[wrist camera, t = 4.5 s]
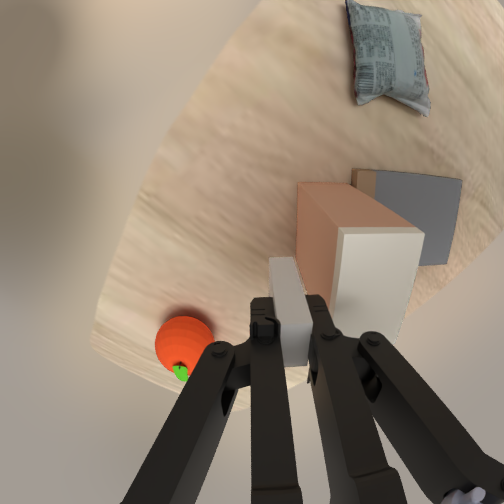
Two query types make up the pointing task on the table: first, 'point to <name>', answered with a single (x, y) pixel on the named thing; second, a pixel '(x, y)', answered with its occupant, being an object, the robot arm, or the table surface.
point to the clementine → (182, 344)
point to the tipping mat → (417, 205)
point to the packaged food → (388, 56)
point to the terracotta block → (356, 257)
